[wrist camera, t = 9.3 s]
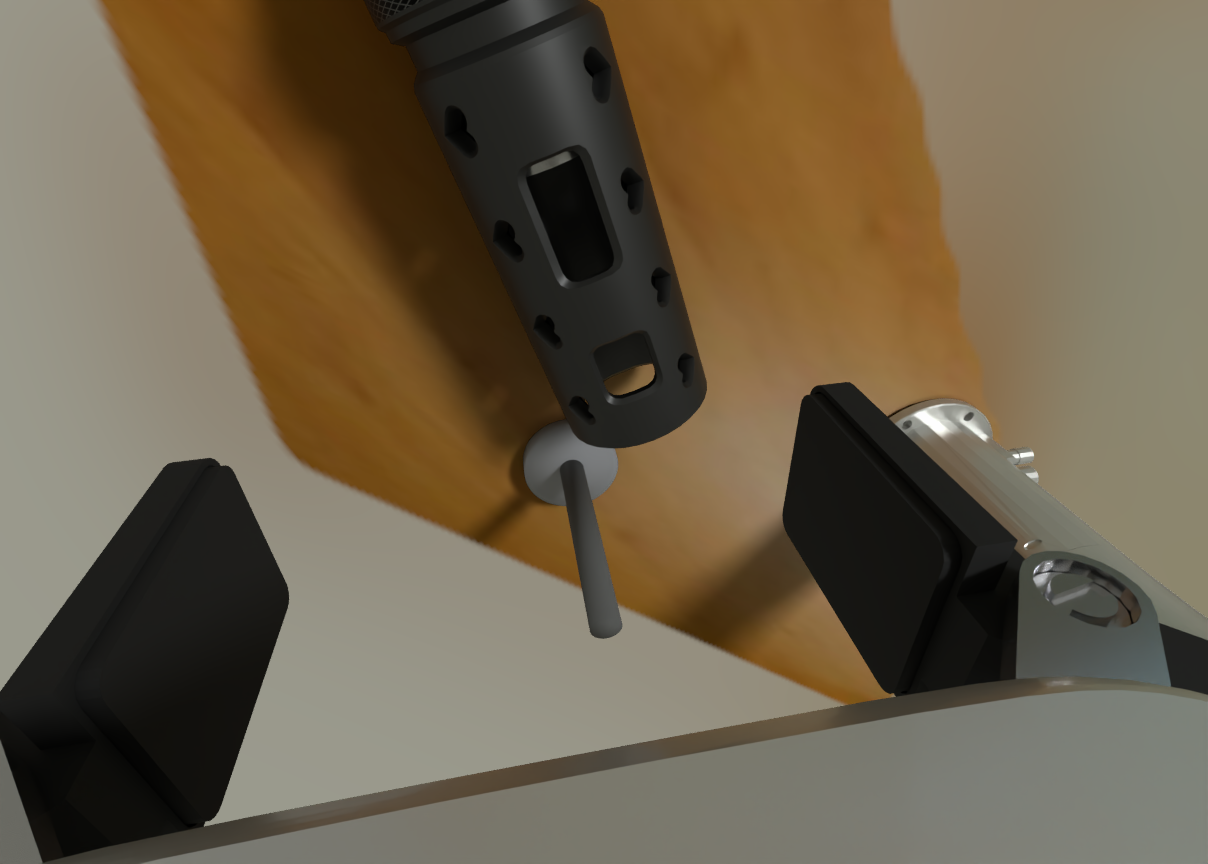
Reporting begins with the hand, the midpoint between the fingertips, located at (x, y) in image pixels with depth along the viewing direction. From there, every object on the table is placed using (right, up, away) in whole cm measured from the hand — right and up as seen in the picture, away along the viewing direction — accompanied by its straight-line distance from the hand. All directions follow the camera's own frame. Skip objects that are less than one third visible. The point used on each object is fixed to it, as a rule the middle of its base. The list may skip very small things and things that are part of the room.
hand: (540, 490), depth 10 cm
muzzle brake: (-2, +17, +25) cm, 30 cm away
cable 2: (-2, -1, +36) cm, 36 cm away
